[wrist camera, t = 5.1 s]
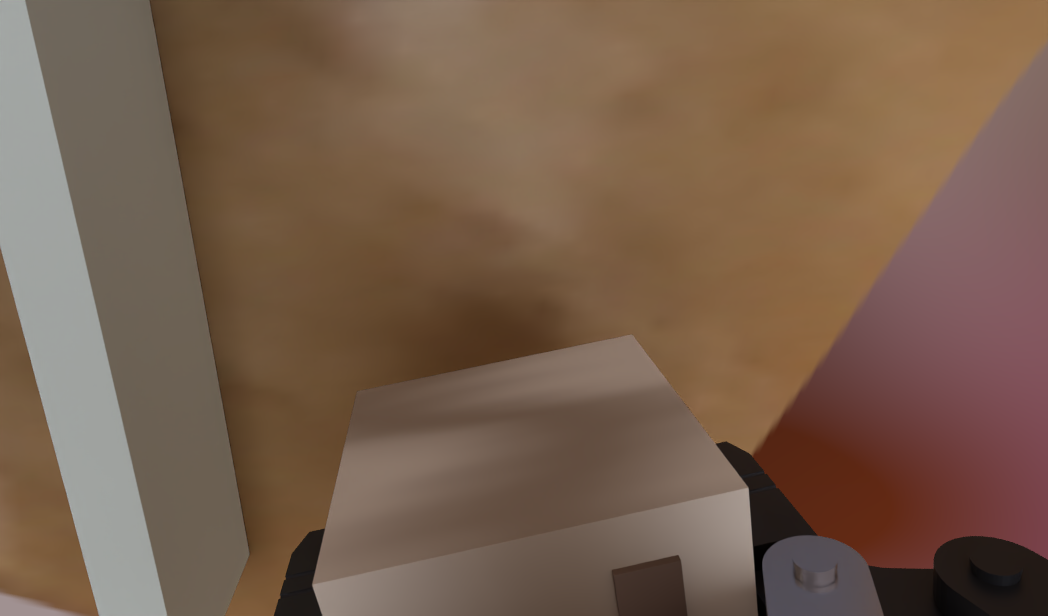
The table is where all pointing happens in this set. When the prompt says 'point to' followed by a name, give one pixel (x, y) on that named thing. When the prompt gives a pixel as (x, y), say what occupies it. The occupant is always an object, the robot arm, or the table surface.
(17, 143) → the screen
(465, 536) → the letter cube
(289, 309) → the table surface
